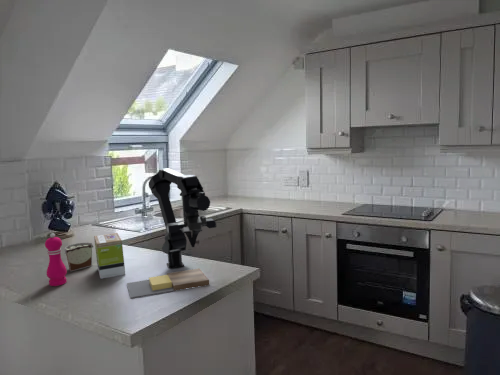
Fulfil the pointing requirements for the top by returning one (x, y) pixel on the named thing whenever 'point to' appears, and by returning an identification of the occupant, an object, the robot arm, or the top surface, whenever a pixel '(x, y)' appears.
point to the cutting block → (188, 279)
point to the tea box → (109, 255)
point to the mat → (144, 289)
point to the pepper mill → (55, 261)
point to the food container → (79, 255)
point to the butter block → (160, 282)
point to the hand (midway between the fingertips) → (193, 247)
